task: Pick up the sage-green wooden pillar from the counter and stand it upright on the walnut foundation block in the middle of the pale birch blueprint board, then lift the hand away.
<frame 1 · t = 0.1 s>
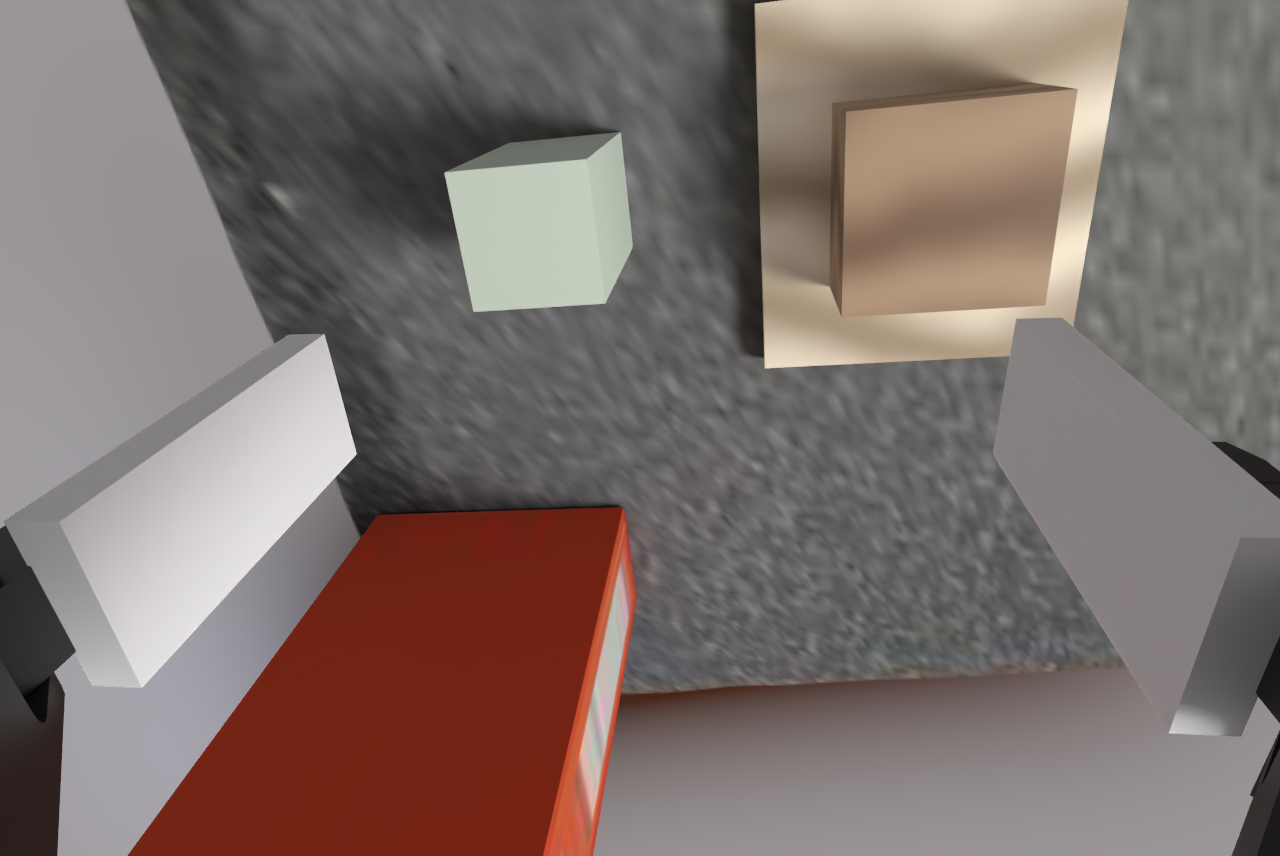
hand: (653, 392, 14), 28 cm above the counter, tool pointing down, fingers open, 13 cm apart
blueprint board: (917, 186, 38), on the counter
sage pillar: (572, 196, 40), on the counter
file binder: (510, 555, 52), on the counter
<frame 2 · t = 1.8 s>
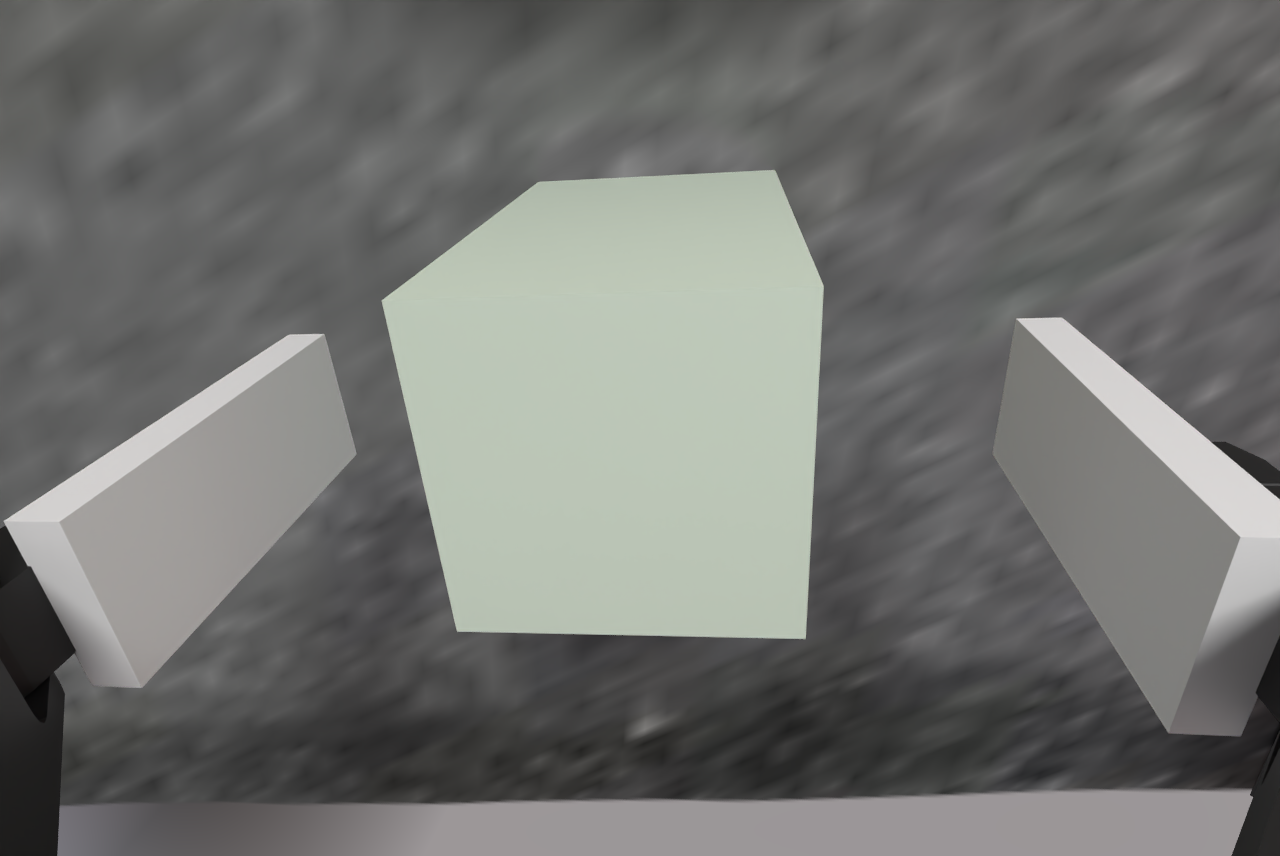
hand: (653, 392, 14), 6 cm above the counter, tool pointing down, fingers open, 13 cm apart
sage pillar: (660, 291, 20), on the counter
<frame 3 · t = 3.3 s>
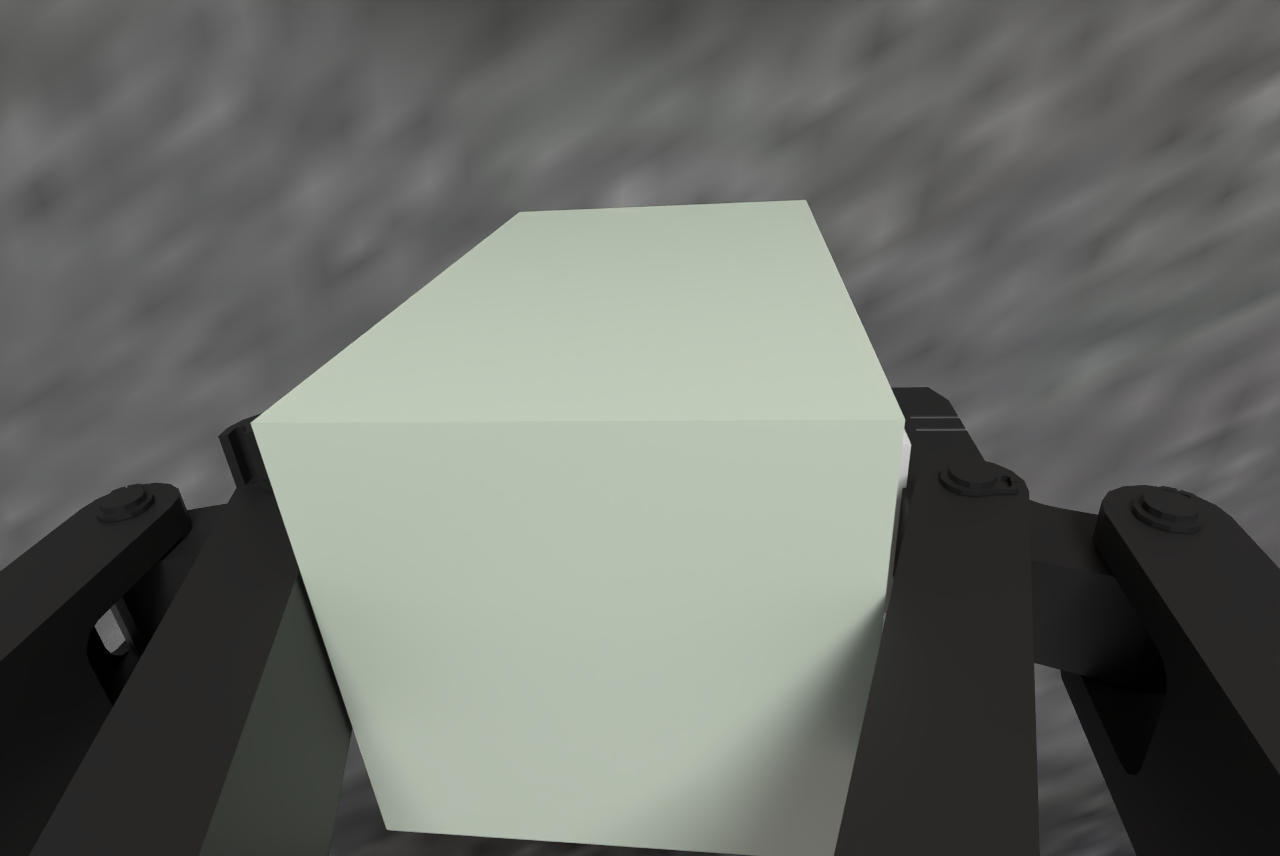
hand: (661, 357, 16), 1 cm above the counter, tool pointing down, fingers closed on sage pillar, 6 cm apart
sage pillar: (665, 341, 17), on the counter, touching gripper
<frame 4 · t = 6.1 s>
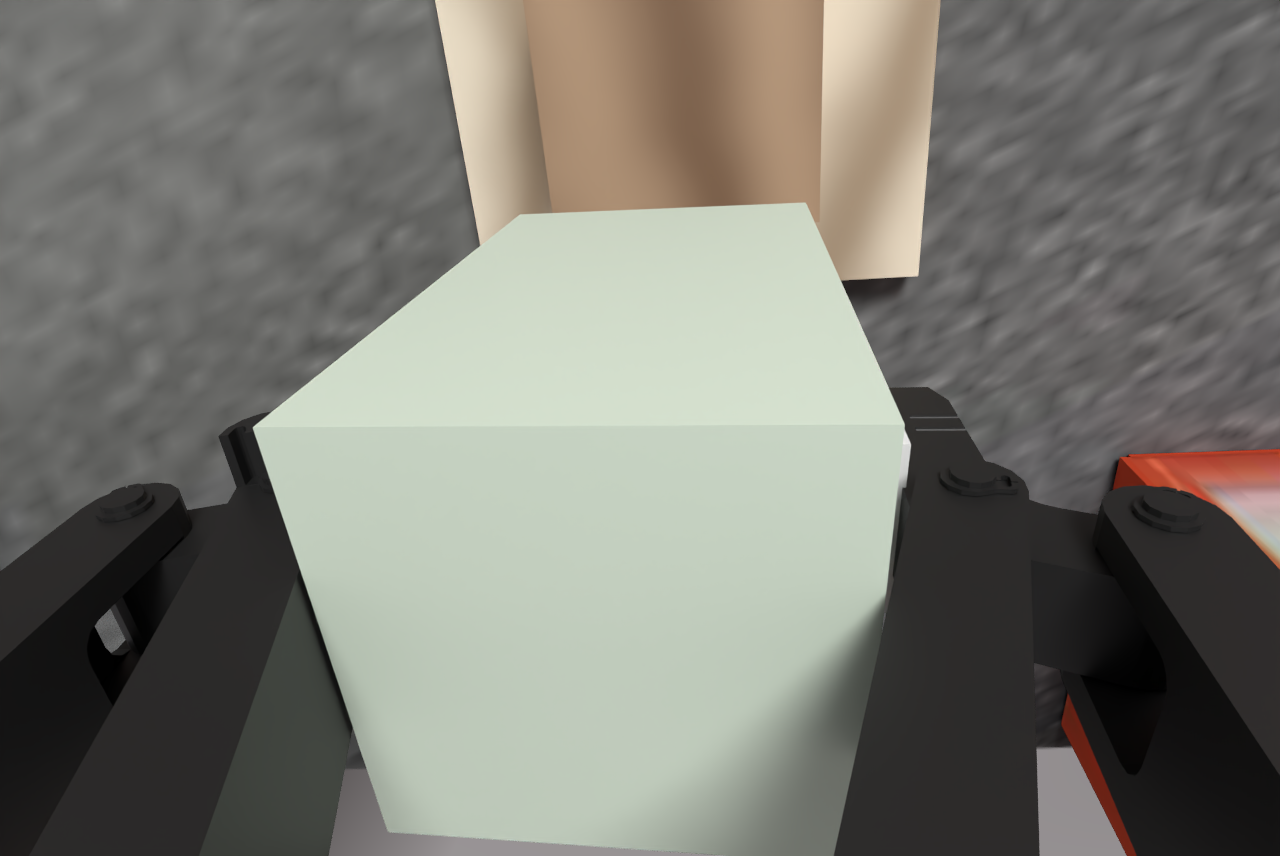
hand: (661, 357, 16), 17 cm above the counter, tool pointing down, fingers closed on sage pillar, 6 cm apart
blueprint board: (686, 78, 29), on the counter
sage pillar: (665, 343, 17), point 16 cm above the counter, touching gripper
file binder: (1168, 597, 38), on the counter
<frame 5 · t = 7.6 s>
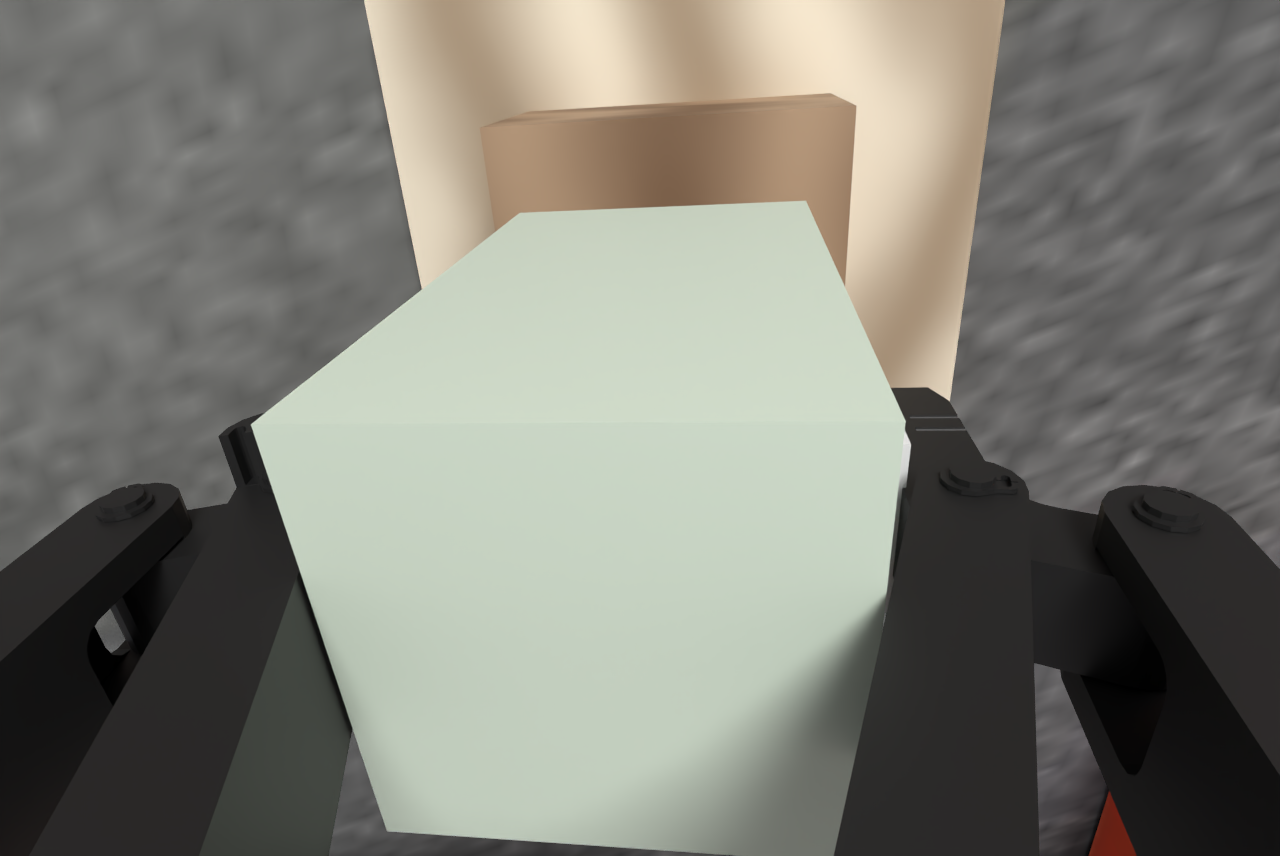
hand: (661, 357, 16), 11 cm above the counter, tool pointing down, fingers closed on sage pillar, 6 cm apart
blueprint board: (683, 242, 25), on the counter
sage pillar: (665, 342, 17), point 10 cm above the counter, touching gripper
file binder: (1198, 783, 35), on the counter
when the fingers open (9 cm above the counter, at t = 8.7 s): sage pillar drops 1 cm, resting on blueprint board.
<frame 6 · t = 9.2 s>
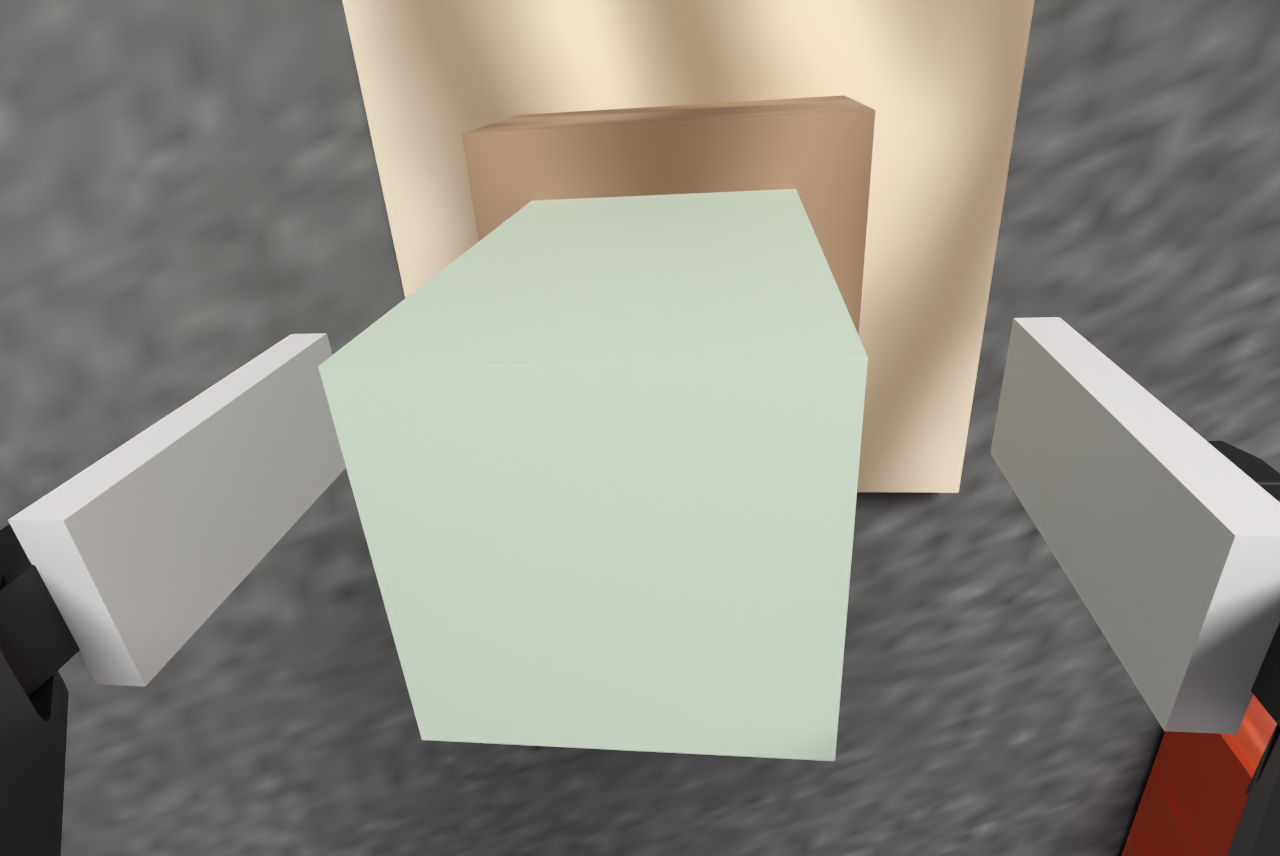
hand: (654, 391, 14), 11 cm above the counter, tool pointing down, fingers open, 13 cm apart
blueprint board: (685, 254, 24), on the counter
sage pillar: (666, 321, 18), point 6 cm above the counter, touching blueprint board
file binder: (1225, 819, 33), on the counter
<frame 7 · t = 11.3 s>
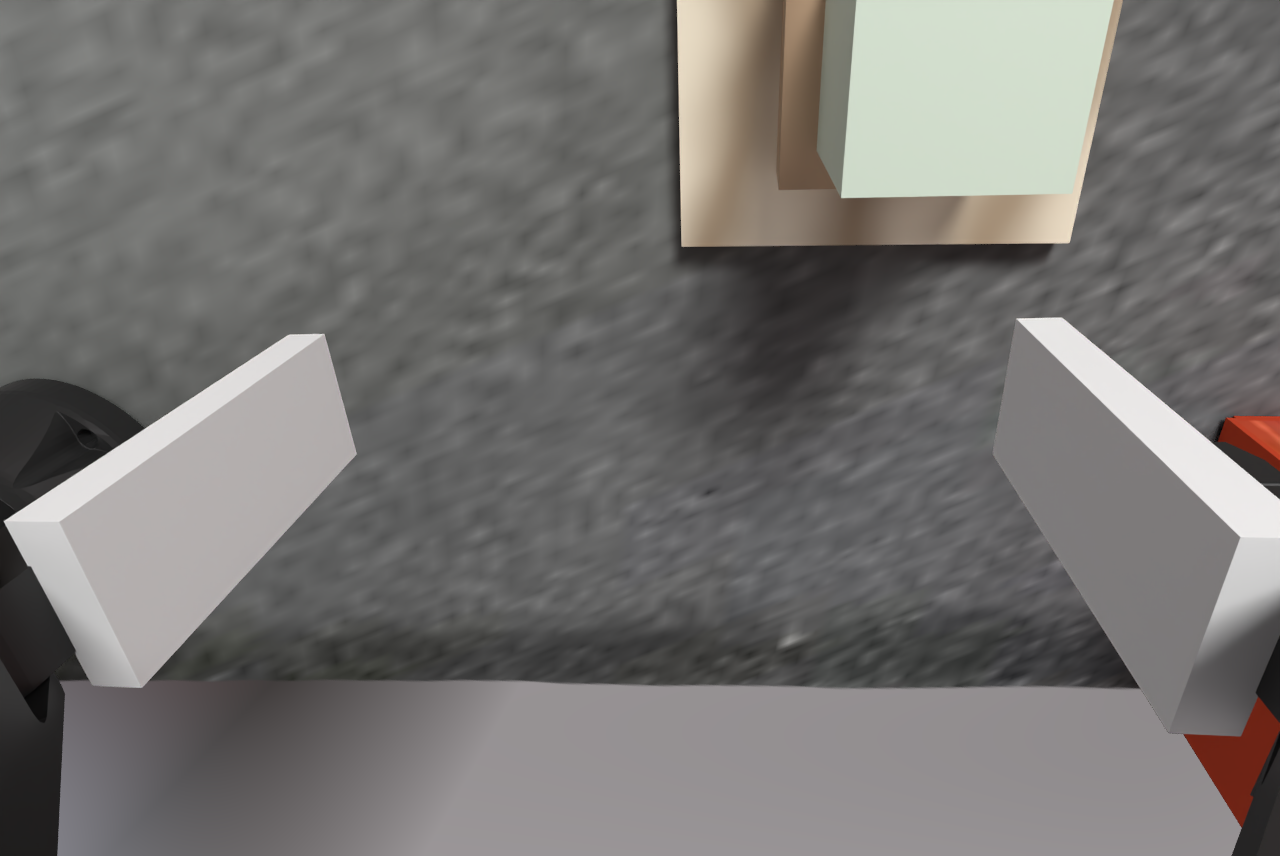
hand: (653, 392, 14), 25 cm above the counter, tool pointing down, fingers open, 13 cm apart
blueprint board: (881, 58, 33), on the counter
sage pillar: (904, 63, 28), point 6 cm above the counter, touching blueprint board
file binder: (1253, 551, 42), on the counter
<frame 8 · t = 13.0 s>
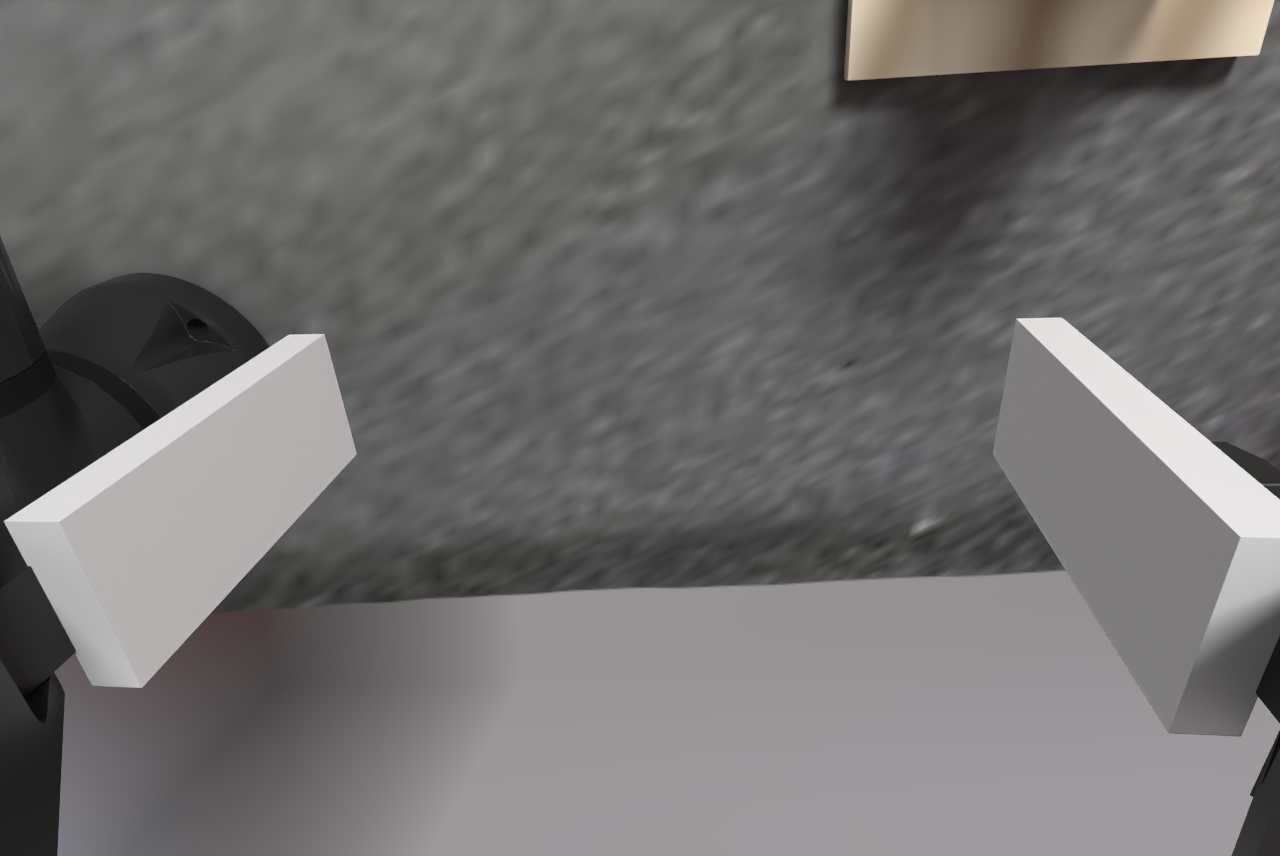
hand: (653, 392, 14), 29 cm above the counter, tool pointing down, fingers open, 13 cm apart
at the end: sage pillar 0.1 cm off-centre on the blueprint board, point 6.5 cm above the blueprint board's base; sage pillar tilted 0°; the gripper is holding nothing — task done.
